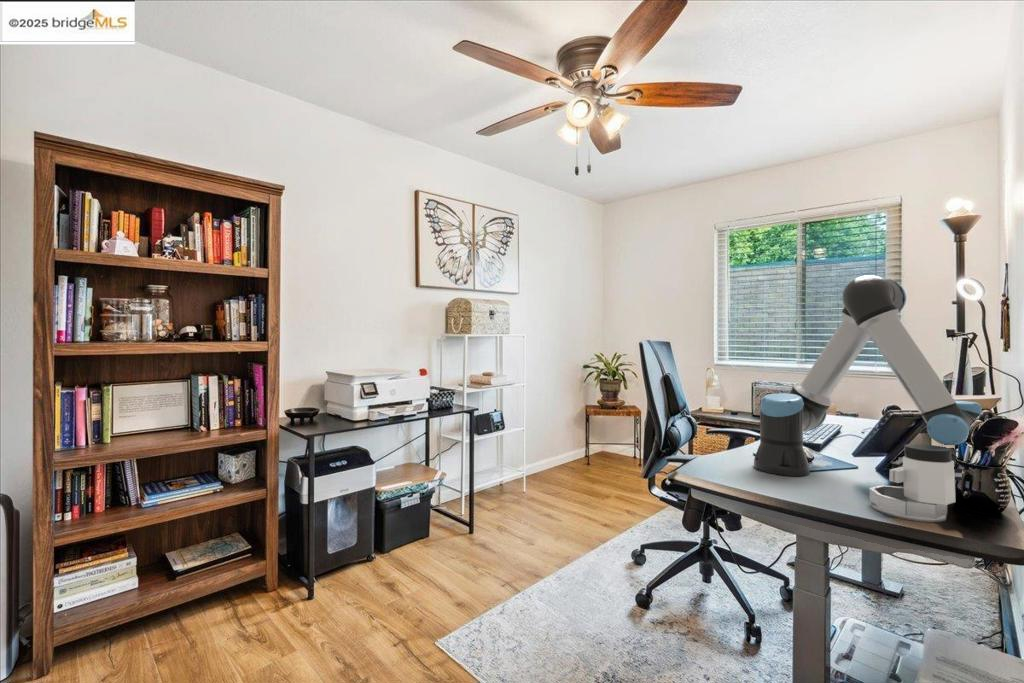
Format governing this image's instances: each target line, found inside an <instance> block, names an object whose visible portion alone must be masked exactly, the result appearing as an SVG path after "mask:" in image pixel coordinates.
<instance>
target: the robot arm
mask: <svg viewBox="0 0 1024 683" xmlns="http://www.w3.org/2000/svg"><path fill="white" fill-rule="evenodd" d="M842 302H843V303H842V304H843V305H844V307H843V309H842V310H841V312H840V313H841V315H842V321H841V322H840V324H839V325H838V326H837V328H836V330H835V331H834V333H833V334H832V336H831V337H830V339H829V340H828V342H827V344H826V345H825V347H824V348H823V350H822V351H821V353H819V354H820V355H819V356H818V358H817V359H816V361H815V362H814V364H813V365H812V367H811V368H810V370H809V371H808V373H807V374H806V376H805V377H804V379H803V381H801V383H798V384H794V385H793V387H791V390H790V391H789V392H787V393H785V392H784V393H783V392H779V393H769V394H765V395H764V396H762V397H761V399H760V405H759V413H760V415H759V417H760V418H759V420H760V421H759V422H760V423H759V424H760V426H759V427H760V429H759V430H760V432H759V433H760V434H759V438H760V440H759V445H758V448H757V450H756V453H755V456H754V459H753V467H754V468H755V469H756V468H757V470H758V469H759V470H758V471H761V472H765V473H769V474H772V475H778V474H779V475H778V476H786V477H787V476H790V477H803V476H807V475H809V474H810V463H809V462H808V458H807V455H806V453H805V450H804V449H805V448H804V432H810V431H812V430H816V429H817V428H819V427H820V426H821V425H823V423H824V422H825V421H826V417H827V411H828V410H829V408H830V407H831V405H832V402H831V399H830V396H832V394H833V393H834V391H835V389H837V387H838V385H839V384H840V383H841V381H842V379H843V378H844V377H845V375H846V374H847V373H848V370H849V369H850V368H851V366H852V365H853V363H854V362H855V360H856V359H857V358H858V356H859V354H860V353H861V352H862V350H864V348H865V347H866V346H865V345H867V343H868V342H869V341H870V339H871V340H872V342H873V343H874V345H875V346H876V349H878V351H879V352H880V354H881V355H882V358H884V360H885V362H886V363H887V365H888V366H889V368H890V369H891V371H892V372H893V374H894V376H895V377H896V378H897V380H898V382H899V383H900V384H901V386H902V388H903V389H904V391H905V392H906V395H908V397H909V399H910V400H911V401H912V403H913V404H914V406H915V407H916V409H917V411H918V413H919V414H920V415H921V417H922V419H923V421H924V422H925V423H926V432H927V434H928V435H929V437H930V438H931V439H932V440H933V441H935V442H936V443H938V444H941V445H943V444H944V445H958V444H962V443H964V442H965V441H966V440H967V438H968V435H969V429H970V424H971V423H972V422H973V421H974V420H975V419H976V418H977V417H978V416H979V415H980V414H981V413H982V414H983V409H982V405H981V404H980V403H978V402H976V401H969V400H955V399H954V398H953V396H952V395H951V393H950V391H949V390H948V388H947V387H946V386H945V385H944V383H943V382H942V380H941V378H940V377H939V375H938V374H937V373H936V371H935V370H934V368H933V367H932V365H931V364H930V362H929V361H928V360H927V358H926V356H925V355H924V354H923V353H922V351H921V350H920V348H919V346H918V345H917V344H916V342H915V340H914V339H913V338H912V336H911V335H910V333H909V332H908V330H907V329H906V328H905V326H904V325H903V323H902V322H901V320H900V319H899V317H898V314H899V313H900V312H901V311H902V310H903V309H904V308H905V305H906V304H907V294H906V292H905V289H904V288H903V286H901V284H899V283H898V282H897V281H895V280H892V279H891V278H888V277H887V278H886V277H882V276H878V275H872V274H871V275H870V274H867V275H862V276H859V277H856V278H854V279H853V280H851V281H850V282H848V284H846V286H845V288H844V289H843V291H842ZM949 449H951V458H952V461H954V467H955V459H956V450H955V449H954V448H949ZM954 474H955V481H962V480H963V477H962V469H959V468H957V469H954ZM888 475H889V479H888V480H889V482H892V483H896V484H900V483H904V482H905V481H906V470H905V469H903V456H902V457H901V456H900V457H898V460H896V461H894V462H892V468H891V469H889V474H888Z"/></svg>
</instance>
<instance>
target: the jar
mask: <svg viewBox="0 0 1024 683" xmlns="http://www.w3.org/2000/svg"><path fill="white" fill-rule="evenodd" d="M903 447H904V448H903V452H904V456H902V457H903V469H905V470H906V481H905V482H903V487H904V496H905V497H908V498H910V499H913V500H915V501H918V502H922V503H930V504H938V505H947V506H948V505H950V504H954V503H956V480H955V474H954V461H952V458H951V449H949V448H946V447H943V446H940V445H935V444H934V445H931V444H923V443H922V444H920V443H919V444H918V443H912V444H911V443H910V444H909V443H908V444H904V446H903Z"/></svg>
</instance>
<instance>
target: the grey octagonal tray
mask: <svg viewBox="0 0 1024 683" xmlns="http://www.w3.org/2000/svg"><path fill="white" fill-rule="evenodd" d="M869 501H870V503H869V505H870V507H871V508H872V509H873V510H875V511H877V512H879V513H881V514H885V515H887V516H890V517H893V518H896V519H897V518H898V519H900V520H901V519H902V520H906V521H907V520H908V521H913V522H919V523H929V522H937V523H943V522H946V520H947V515H948V505H938V504H930V503H922V502H918V501H915V500H913V499H910V498H908V497H905V496H904V486H894V485H885V484H884V485H877V486H872V487H869ZM942 521H943V522H942Z"/></svg>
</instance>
